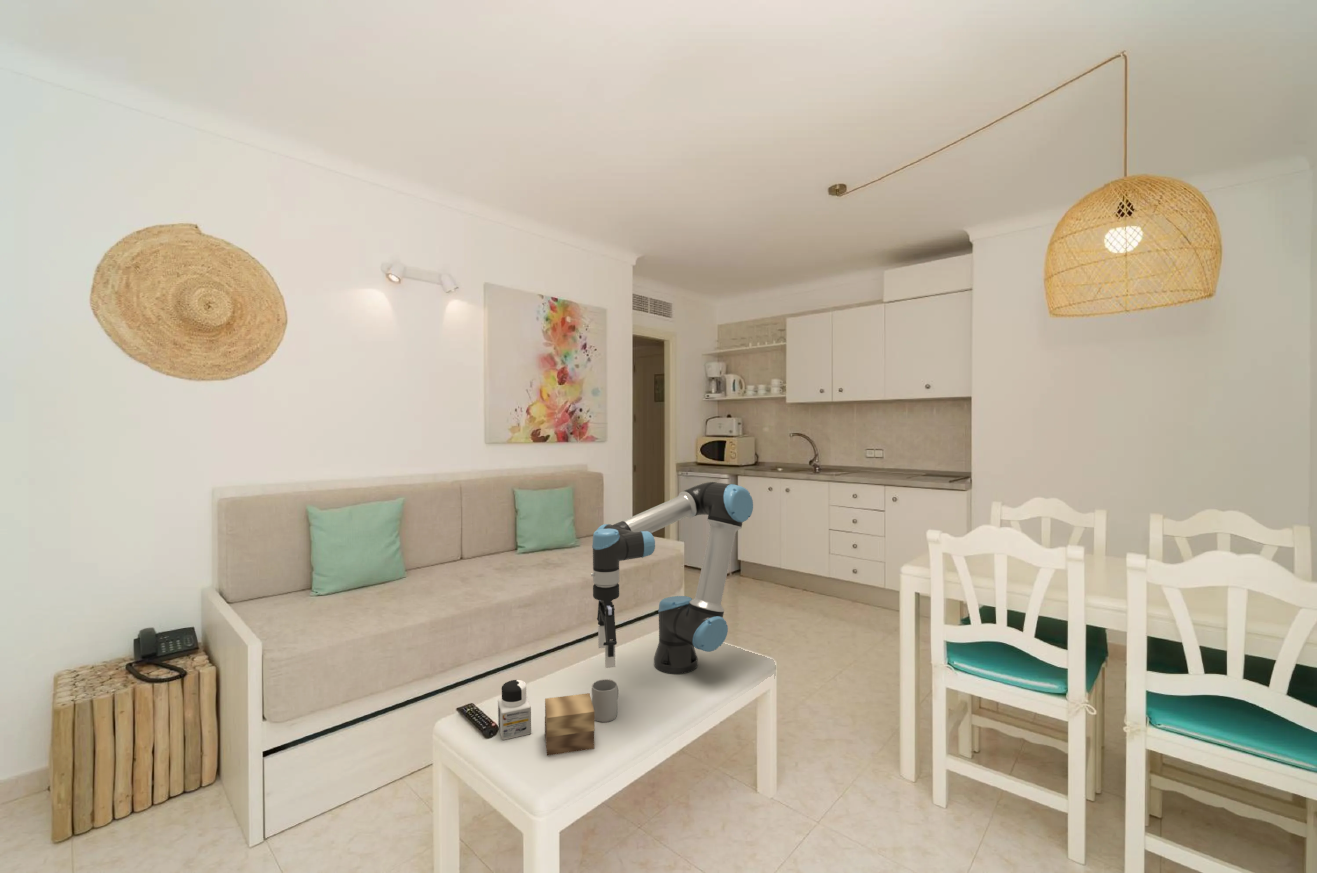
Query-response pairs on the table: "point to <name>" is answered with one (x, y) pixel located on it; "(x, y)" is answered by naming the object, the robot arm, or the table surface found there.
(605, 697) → the cup
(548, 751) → the slab lower
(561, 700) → the slab upper
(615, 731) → the table surface
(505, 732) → the container
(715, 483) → the robot arm
